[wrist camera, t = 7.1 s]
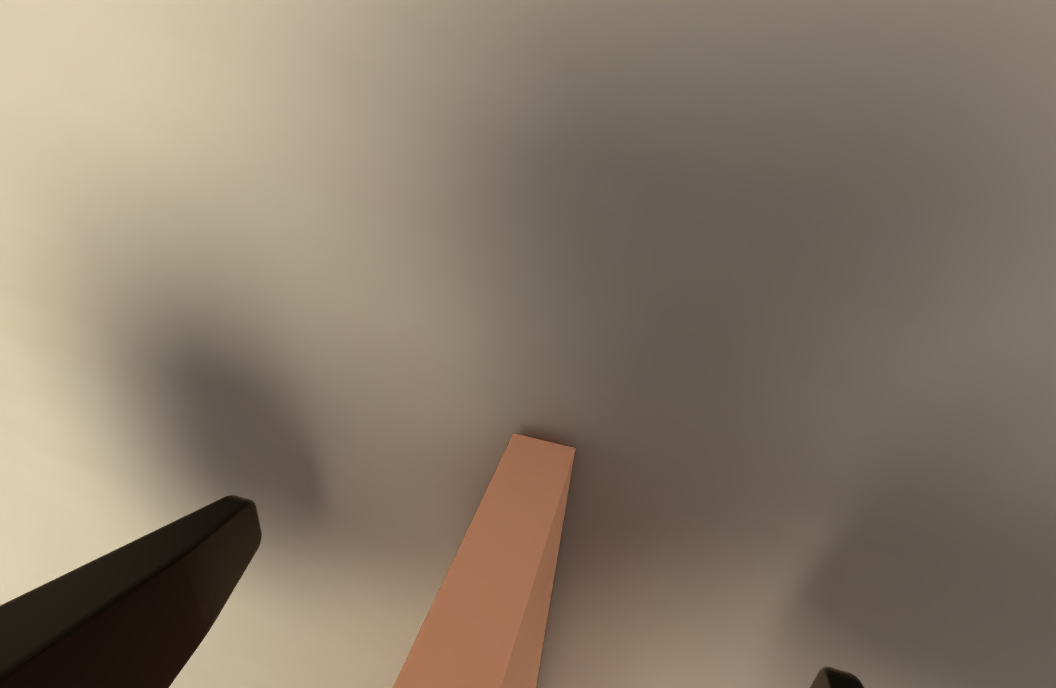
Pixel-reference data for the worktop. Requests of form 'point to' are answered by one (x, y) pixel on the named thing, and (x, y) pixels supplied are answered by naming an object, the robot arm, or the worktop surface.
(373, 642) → the worktop surface
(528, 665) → the salmon pink plank
